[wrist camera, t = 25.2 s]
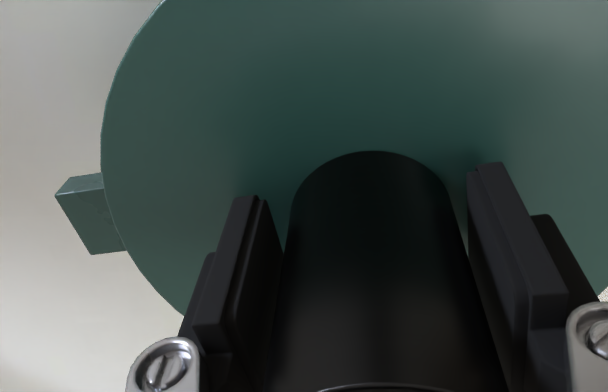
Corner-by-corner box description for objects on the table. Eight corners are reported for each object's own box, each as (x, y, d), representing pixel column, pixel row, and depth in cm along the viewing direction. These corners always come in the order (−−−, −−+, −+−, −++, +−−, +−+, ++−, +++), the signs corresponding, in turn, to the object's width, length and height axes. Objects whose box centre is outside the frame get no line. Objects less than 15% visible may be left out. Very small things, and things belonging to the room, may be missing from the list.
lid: (15, -20, 10) (-404, 136, 5) (717, -190, 8) (1704, -318, 2) (211, 362, 18) (146, 606, 12) (605, 333, 16) (761, 621, 10)
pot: (89, -40, 18) (-77, 27, 11) (627, -171, 14) (890, -197, 7) (201, 226, 24) (145, 371, 18) (580, 178, 21) (693, 331, 14)
